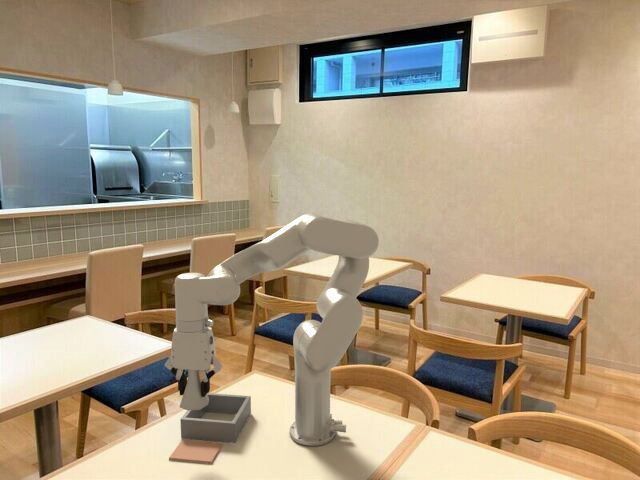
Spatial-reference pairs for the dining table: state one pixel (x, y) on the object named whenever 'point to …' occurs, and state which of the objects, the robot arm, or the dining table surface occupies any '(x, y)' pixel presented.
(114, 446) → the dining table surface
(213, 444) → the mat
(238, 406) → the box frame
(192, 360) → the robot arm
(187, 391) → the flask
